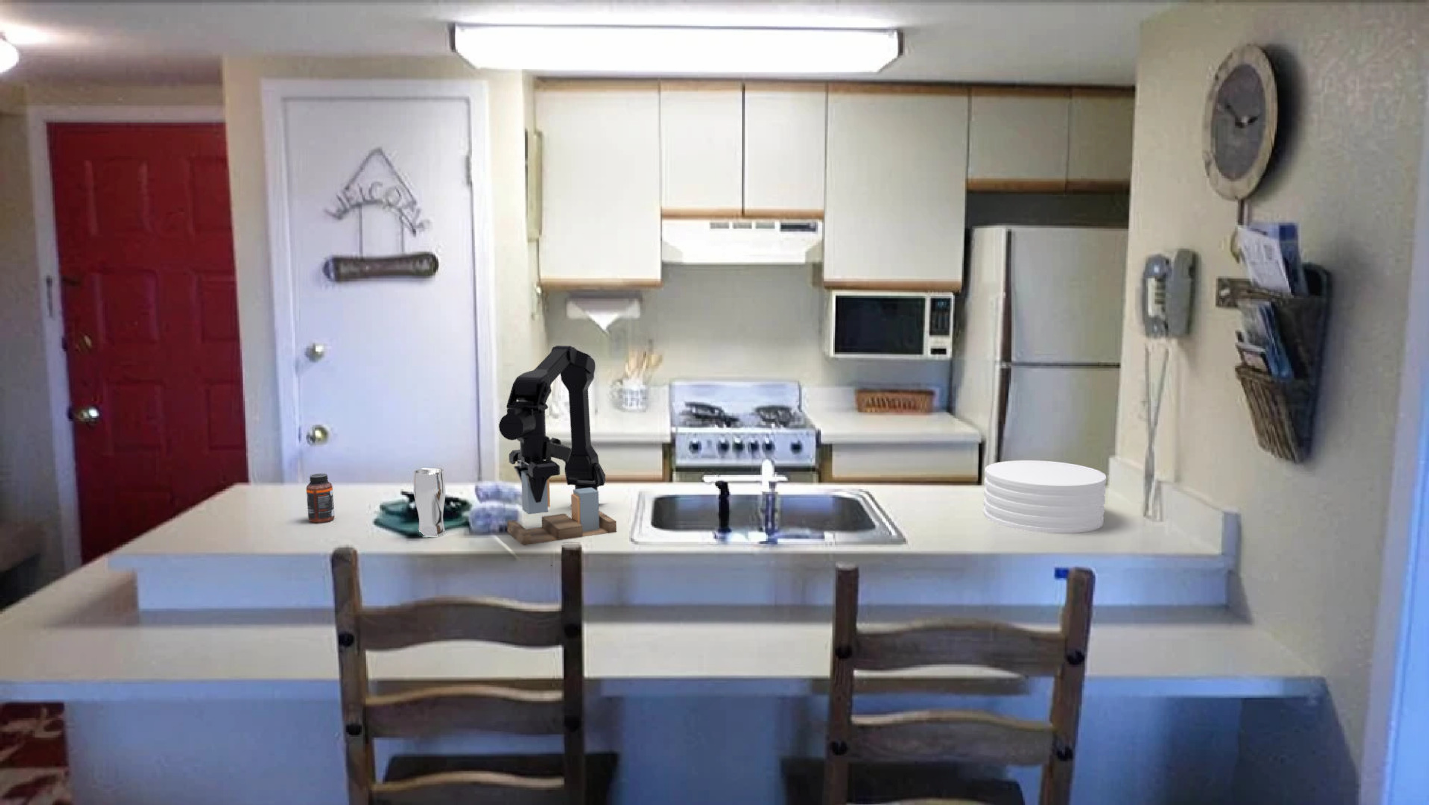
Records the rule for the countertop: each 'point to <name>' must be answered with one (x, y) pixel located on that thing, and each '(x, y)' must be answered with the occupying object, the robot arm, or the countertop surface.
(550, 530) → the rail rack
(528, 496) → the block
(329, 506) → the supplement bottle
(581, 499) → the block
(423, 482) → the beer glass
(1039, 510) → the plate stack
